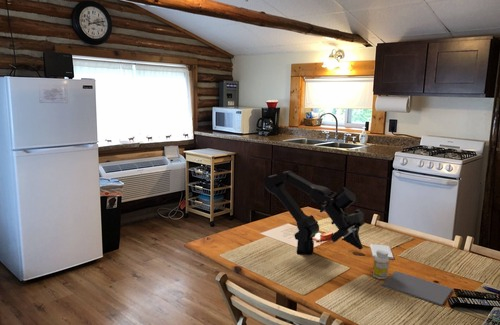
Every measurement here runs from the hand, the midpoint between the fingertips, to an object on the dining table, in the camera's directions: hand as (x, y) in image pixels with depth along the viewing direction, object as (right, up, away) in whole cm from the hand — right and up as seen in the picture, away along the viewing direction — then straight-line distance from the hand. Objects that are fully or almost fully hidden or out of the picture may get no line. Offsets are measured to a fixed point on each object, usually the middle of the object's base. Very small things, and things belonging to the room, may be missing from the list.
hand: (361, 248), depth 149 cm
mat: (+16, -11, -12) cm, 23 cm away
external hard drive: (+14, -6, +19) cm, 24 cm away
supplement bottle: (+6, -10, -4) cm, 12 cm away
